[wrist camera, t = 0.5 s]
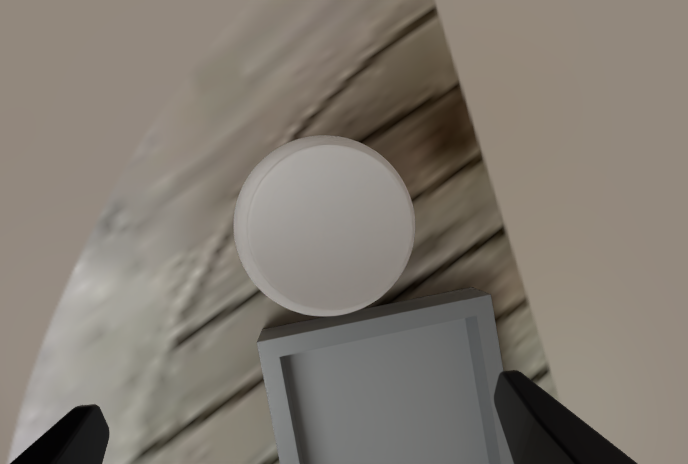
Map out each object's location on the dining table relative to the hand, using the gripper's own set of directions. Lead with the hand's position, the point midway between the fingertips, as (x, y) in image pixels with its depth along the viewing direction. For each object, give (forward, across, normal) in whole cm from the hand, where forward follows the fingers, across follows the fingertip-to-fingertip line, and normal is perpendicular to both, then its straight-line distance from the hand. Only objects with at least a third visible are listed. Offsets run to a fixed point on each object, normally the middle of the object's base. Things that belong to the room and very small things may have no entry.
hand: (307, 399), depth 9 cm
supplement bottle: (+15, -1, +3) cm, 16 cm away
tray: (+10, -4, +14) cm, 17 cm away
